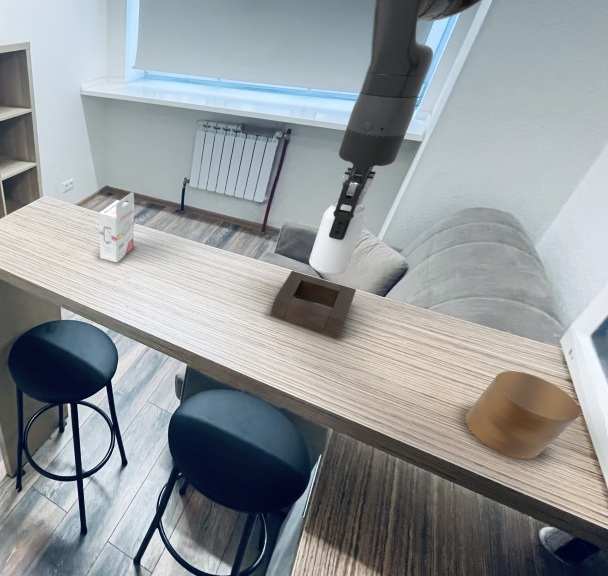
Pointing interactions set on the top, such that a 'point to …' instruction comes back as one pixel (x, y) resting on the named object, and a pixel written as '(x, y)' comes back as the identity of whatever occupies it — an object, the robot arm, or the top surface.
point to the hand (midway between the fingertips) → (339, 229)
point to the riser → (521, 414)
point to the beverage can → (336, 242)
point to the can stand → (309, 312)
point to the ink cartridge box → (117, 229)
